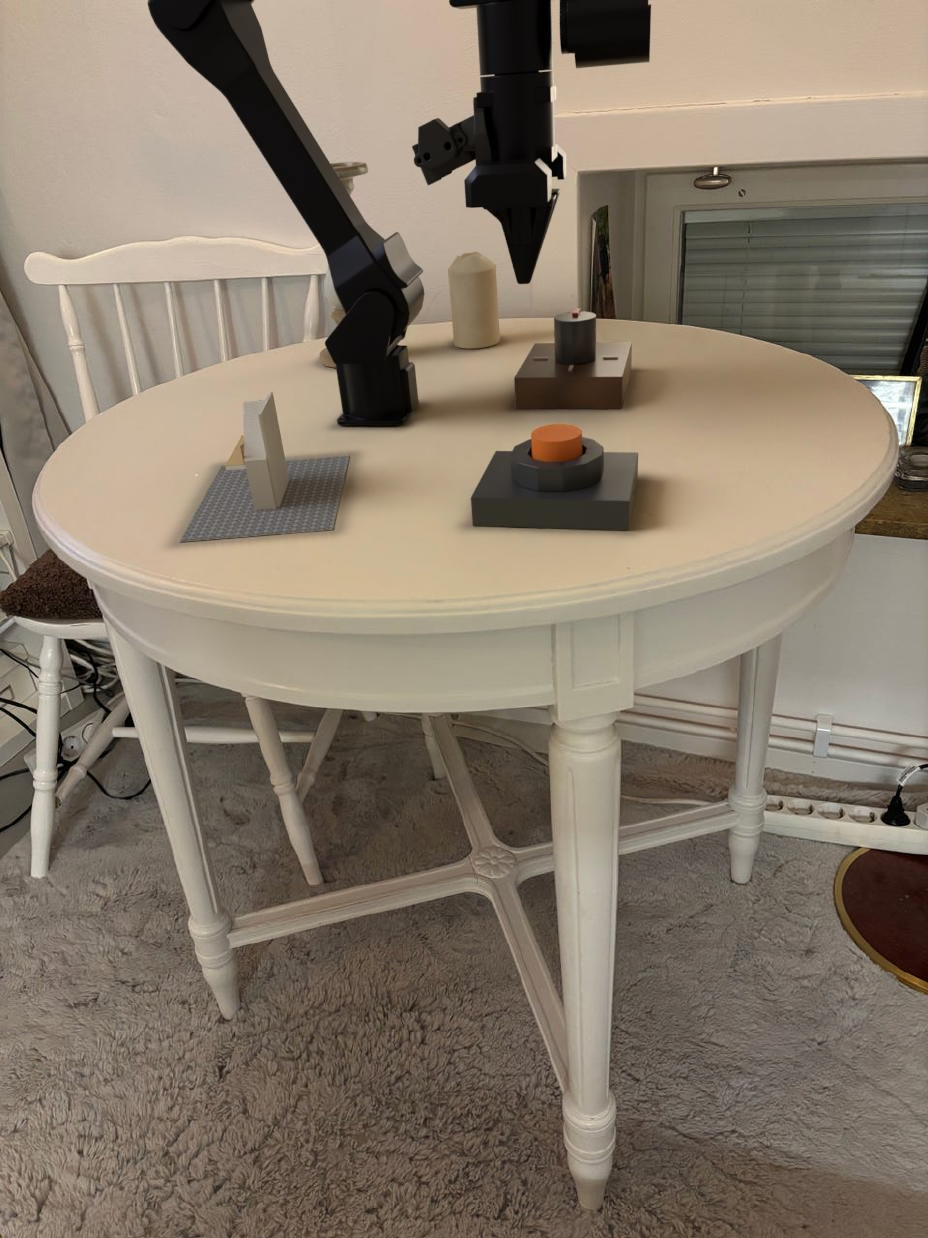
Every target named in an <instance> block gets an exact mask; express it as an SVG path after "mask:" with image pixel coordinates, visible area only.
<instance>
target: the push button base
mask: <svg viewBox="0 0 928 1238" xmlns="http://www.w3.org/2000/svg"><path fill="white" fill-rule="evenodd" d="M604 450H605V447H604V445H602V444H601V443H599V442H598V441H596V440H595V439H593V438H588V437H584V436H582V456H581V457H579V458H577V459H573V460H568V461H562V462H544V461H541V460H537V459H533V458H532V442H531V438H529V439H527V440H524V441H523V442H521V443H518V444H516V445H515V446H513V449H512V450H495V452H494V453H493V455H492V457H491V459H490V461H489V463H488V465H487V467H486V469H485V470H484V472H483V474H482V476H481V478H480V480H479V481H478V484H477V486H476V487H475V489H474V491H473V493H472V495H471V497H470V505H471V517H472V518H471V519H472V526H473V527H501V528H503V527H504V528H505V527H506V528H507V527H508V528H512V527H513V528H535V529H537V528H538V529H567V530H569V529H570V530H599V531H600V530H601V531H605V530H606V531H630V526H631V521H632V520H631V519H632V515H633V508H634V502H635V497H636V491H637V485H638V479H639V478H638V475H639V452H633V451H632V452H627V451H625V452H624V451H604Z"/></svg>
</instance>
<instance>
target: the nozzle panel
mask: <svg viewBox="0 0 928 1238" xmlns="http://www.w3.org/2000/svg"><path fill="white" fill-rule="evenodd" d="M632 349H633V342H632V341H598V342H597V341H596V359H595V360H593V361H590V362H587V363H581V364H564V363H559V362H557V361H556V360H555V343H554V342H541V343H540V342H537V343H534V344H533V346H532V347H531V349H530V351H529V352H528V354H527V356H526V357H525V359H524V361H523V363H522V364H521V366H519V369H518V371H517V372H516V374H515V376H514V377H513V381H514V382H513V383H514V404H515V409H516V410H519V409H520V410H524V409H525V410H526V409H527V410H544V409H545V410H546V409H547V410H548V409H549V410H551V409H553V410H554V409H555V410H566V409H567V410H568V409H569V410H573V409H574V410H582V409H584V410H585V409H587V410H596V409H597V410H603V409H604V410H607V409H608V410H610V409H611V410H612V409H613V410H618V409H619V410H622V409H623V407H624V401H625V397H626V394H627V389H628V385H629V381H630V377H631V374H632V357H633V356H632V354H633V353H632V352H633V351H632Z"/></svg>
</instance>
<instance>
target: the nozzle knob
mask: <svg viewBox="0 0 928 1238" xmlns="http://www.w3.org/2000/svg"><path fill="white" fill-rule="evenodd" d="M553 336H554V337H553V338H554V342H553V343H555V360H556V361H557V362H559V363H564V364H581V363H587V362H590V361H593V360H595V359H596V342H597V314H596V313H594V312H591V311H585V310H583V311H582V309H581V307H576V308H574V309H573V311H567V312H561V313H558V314H556V315H554V316H553Z"/></svg>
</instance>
